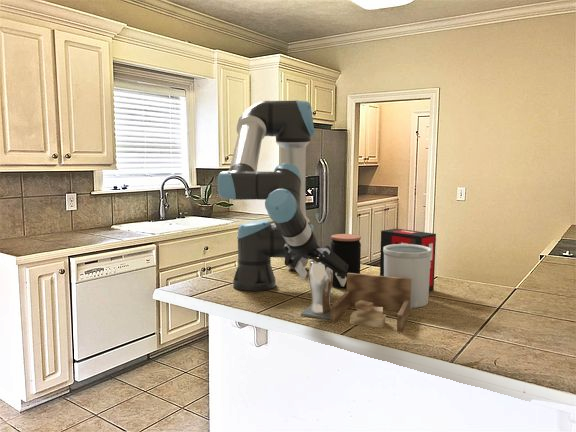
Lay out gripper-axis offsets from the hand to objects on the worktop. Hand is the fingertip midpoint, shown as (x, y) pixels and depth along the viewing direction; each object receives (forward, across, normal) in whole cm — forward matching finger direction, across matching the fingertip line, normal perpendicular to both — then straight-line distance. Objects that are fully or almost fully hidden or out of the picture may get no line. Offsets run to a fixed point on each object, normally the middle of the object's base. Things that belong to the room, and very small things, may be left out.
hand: (324, 279), depth 141 cm
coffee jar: (+28, -7, +14) cm, 32 cm away
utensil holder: (+23, +18, +9) cm, 30 cm away
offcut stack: (+4, +15, -9) cm, 18 cm away
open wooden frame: (+8, +14, -5) cm, 17 cm away
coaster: (+5, 0, -8) cm, 10 cm away
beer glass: (+5, 0, -8) cm, 9 cm away
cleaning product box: (+34, +13, +20) cm, 42 cm away
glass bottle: (+37, -34, +23) cm, 55 cm away
